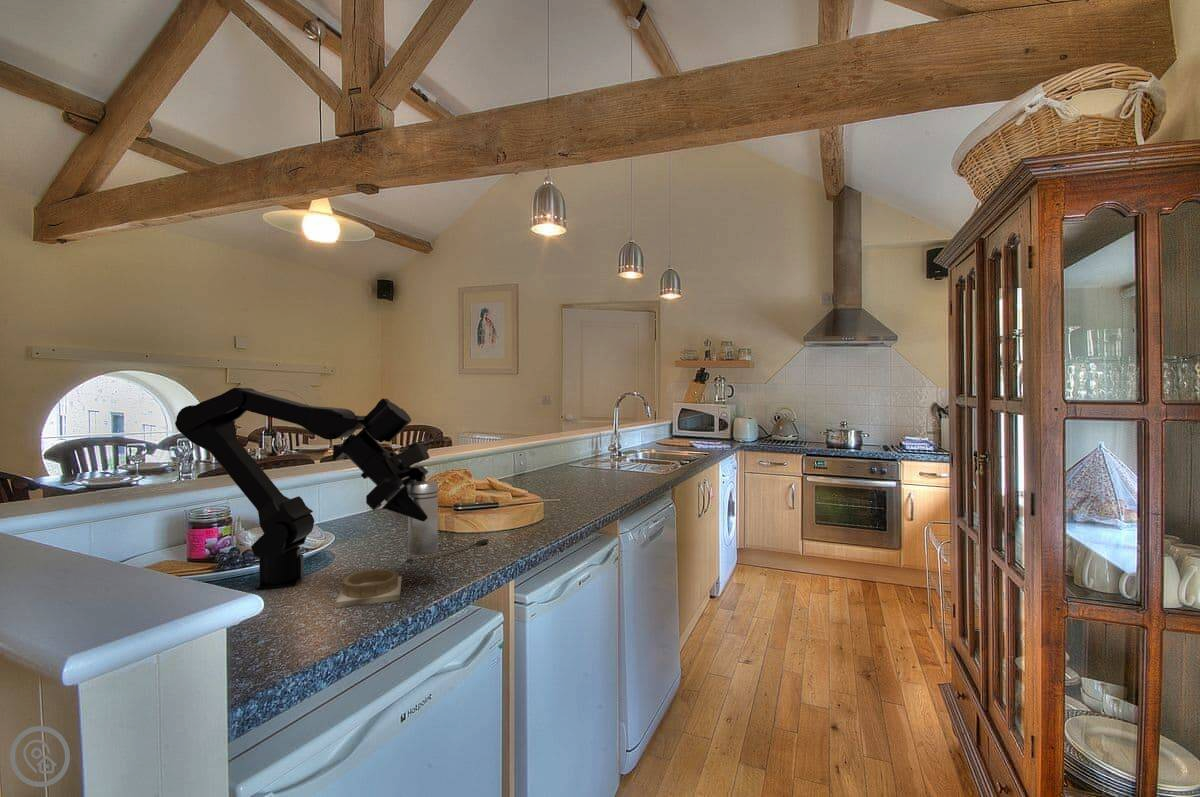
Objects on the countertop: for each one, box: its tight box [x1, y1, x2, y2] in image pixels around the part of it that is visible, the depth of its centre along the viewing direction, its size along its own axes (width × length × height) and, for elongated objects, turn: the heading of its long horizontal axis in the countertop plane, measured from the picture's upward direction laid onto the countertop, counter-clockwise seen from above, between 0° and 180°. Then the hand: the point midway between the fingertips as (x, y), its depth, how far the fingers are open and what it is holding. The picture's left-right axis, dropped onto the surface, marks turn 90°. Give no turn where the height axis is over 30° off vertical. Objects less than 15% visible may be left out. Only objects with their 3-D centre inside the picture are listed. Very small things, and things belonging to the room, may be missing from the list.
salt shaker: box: [407, 480, 439, 556], centre depth 101 cm, size 5×5×13 cm
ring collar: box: [335, 568, 403, 609], centre depth 95 cm, size 10×10×3 cm
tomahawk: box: [405, 538, 490, 563], centre depth 119 cm, size 21×7×1 cm, turn 139°
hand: (430, 516), depth 101 cm, fingers closed on salt shaker, 5 cm apart
